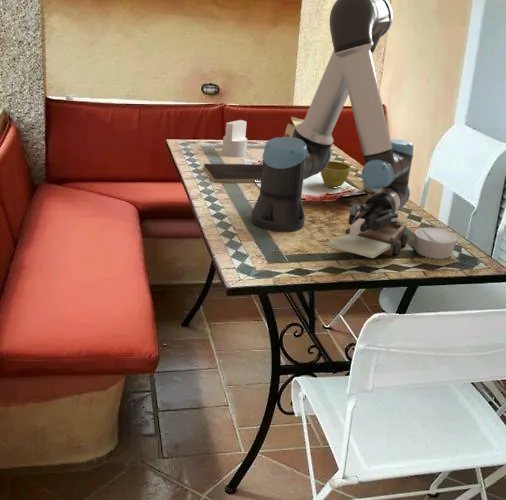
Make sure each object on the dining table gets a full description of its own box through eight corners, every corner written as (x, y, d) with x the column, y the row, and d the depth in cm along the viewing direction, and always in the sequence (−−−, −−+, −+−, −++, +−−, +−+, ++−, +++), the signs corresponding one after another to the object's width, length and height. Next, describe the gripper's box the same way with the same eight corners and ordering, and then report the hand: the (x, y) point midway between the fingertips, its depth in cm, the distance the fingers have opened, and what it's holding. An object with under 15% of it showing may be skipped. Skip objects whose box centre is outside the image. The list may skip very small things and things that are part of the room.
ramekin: (402, 250, 189) (406, 232, 186) (425, 241, 196) (429, 224, 194) (439, 265, 181) (442, 246, 179) (461, 255, 189) (465, 237, 187)
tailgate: (348, 233, 186) (328, 242, 172) (391, 244, 182) (374, 254, 167) (347, 238, 186) (327, 247, 172) (390, 249, 182) (372, 259, 168)
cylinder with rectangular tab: (231, 149, 269) (234, 118, 264) (250, 154, 264) (253, 123, 259) (217, 153, 262) (219, 121, 257) (236, 158, 257) (239, 126, 252)
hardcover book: (280, 184, 235) (281, 177, 234) (213, 184, 229) (213, 177, 228) (267, 170, 249) (268, 163, 248) (203, 169, 243) (204, 163, 242)
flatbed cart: (358, 230, 199) (360, 214, 197) (407, 243, 193) (410, 226, 192) (341, 245, 188) (344, 227, 186) (393, 258, 182) (397, 240, 180)
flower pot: (333, 192, 230) (336, 171, 227) (311, 183, 237) (314, 163, 234) (353, 188, 236) (356, 167, 233) (331, 179, 243) (334, 159, 240)
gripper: (403, 224, 186) (376, 252, 166) (356, 213, 191) (325, 239, 171) (408, 197, 183) (381, 223, 163) (360, 187, 188) (329, 210, 168)
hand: (352, 231), depth 167 cm, fingers closed
